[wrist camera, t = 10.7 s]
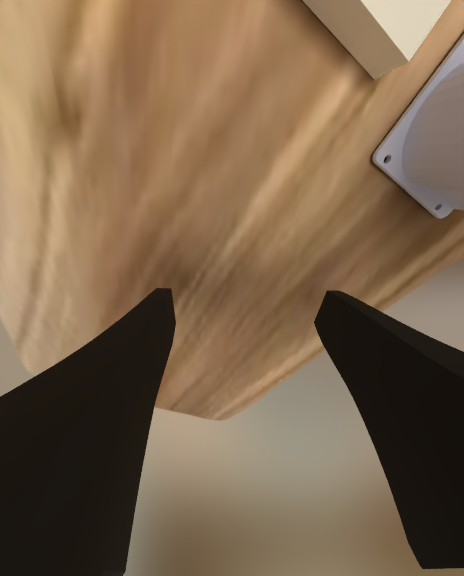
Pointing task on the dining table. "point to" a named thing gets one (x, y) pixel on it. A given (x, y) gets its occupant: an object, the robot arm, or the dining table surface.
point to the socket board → (379, 28)
